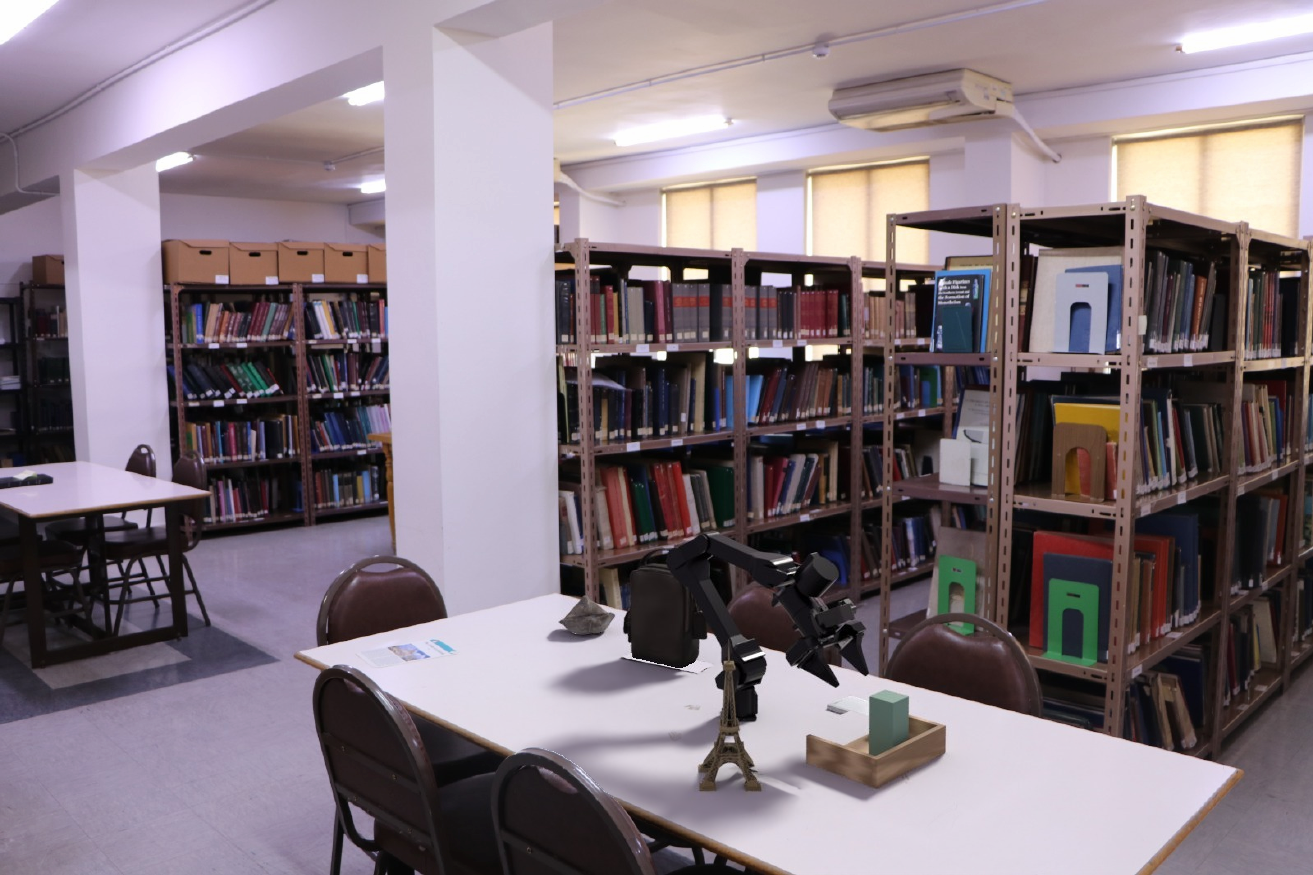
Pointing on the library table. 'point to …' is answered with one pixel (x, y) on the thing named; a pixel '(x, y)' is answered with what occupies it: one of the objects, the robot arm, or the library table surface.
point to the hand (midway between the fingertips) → (852, 680)
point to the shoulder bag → (662, 617)
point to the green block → (887, 721)
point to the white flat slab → (850, 705)
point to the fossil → (587, 617)
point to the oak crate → (886, 766)
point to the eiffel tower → (728, 750)
